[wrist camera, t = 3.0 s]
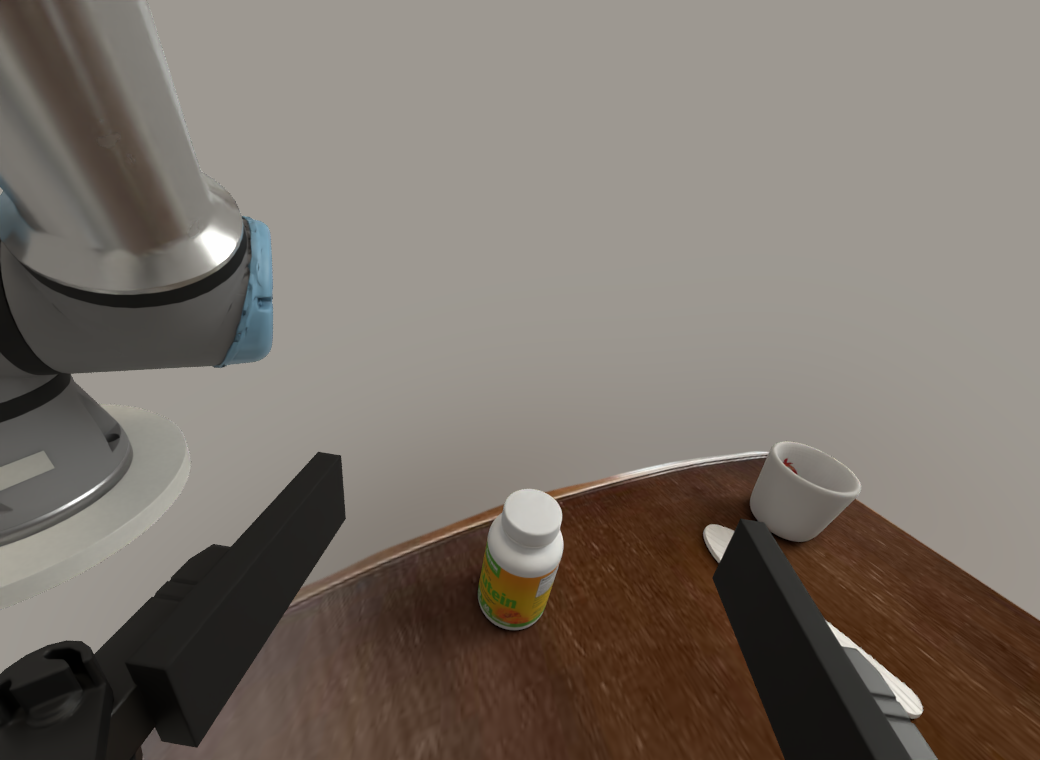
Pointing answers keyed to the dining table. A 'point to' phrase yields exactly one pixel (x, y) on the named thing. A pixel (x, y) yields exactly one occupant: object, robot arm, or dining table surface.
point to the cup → (801, 491)
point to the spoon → (717, 545)
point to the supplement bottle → (521, 560)
